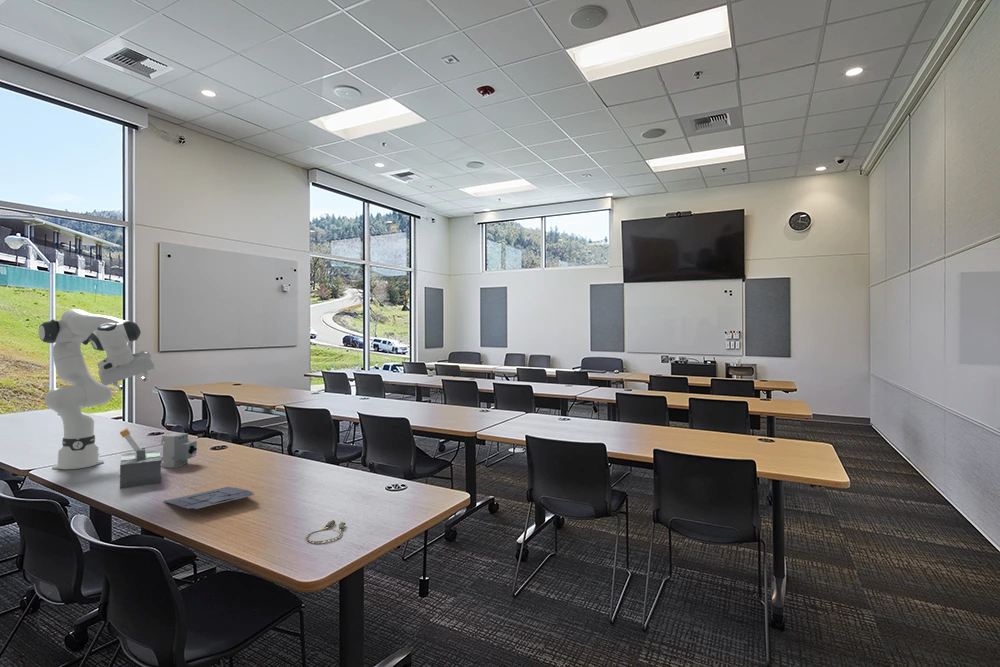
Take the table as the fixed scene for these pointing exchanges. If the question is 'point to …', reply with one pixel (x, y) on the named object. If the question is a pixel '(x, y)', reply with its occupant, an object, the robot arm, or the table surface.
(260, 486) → the table surface
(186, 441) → the circuit breaker
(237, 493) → the dark blue panel
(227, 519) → the table surface
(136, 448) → the lever
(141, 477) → the box
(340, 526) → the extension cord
